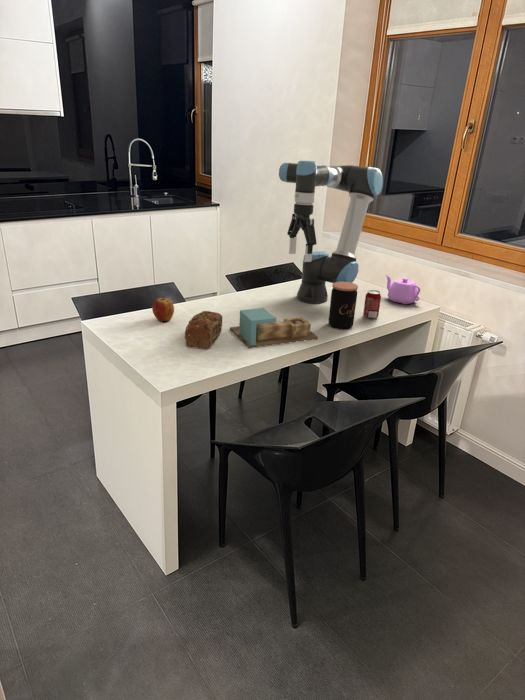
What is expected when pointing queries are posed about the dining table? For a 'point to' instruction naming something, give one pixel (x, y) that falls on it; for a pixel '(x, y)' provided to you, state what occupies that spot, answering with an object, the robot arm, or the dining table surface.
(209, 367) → the dining table surface
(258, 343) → the pintle board
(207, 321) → the bread
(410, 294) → the teapot
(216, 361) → the dining table surface
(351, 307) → the coffee jar
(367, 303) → the soda can
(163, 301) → the apple
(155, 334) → the dining table surface
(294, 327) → the wooden square socket bar
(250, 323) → the block
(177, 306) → the dining table surface
